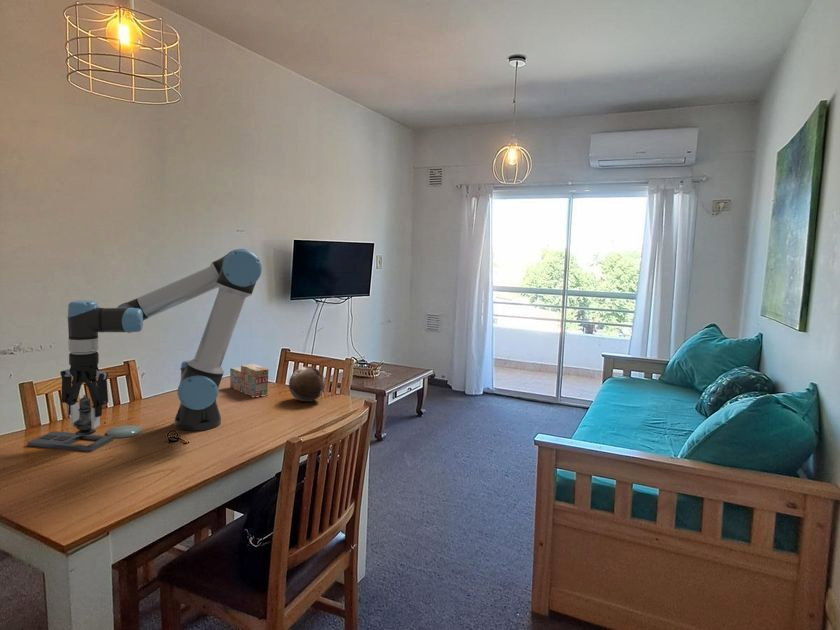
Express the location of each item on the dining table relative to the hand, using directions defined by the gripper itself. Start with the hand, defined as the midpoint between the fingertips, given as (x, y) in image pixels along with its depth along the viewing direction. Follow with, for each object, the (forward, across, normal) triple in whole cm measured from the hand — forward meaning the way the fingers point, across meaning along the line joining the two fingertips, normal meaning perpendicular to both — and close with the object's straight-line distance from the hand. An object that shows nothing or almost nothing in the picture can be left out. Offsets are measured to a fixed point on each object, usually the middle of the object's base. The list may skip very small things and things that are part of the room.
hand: (85, 425), depth 158 cm
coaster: (+6, -4, -12) cm, 14 cm away
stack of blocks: (+7, -22, -72) cm, 75 cm away
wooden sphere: (+7, -50, -65) cm, 82 cm away
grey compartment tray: (+6, +4, 0) cm, 7 cm away
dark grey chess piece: (+2, 0, 0) cm, 2 cm away
